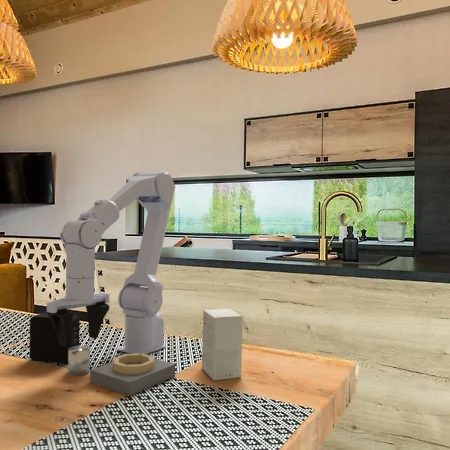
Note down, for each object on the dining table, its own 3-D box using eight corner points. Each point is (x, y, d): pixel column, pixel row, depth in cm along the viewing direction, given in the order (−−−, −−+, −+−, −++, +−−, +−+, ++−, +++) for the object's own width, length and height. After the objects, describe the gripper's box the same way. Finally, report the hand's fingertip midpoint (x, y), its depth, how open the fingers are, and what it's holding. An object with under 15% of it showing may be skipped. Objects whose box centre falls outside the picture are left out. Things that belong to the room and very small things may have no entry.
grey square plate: (136, 365, 102) (137, 347, 102) (175, 376, 96) (175, 357, 96) (89, 382, 92) (90, 362, 91) (129, 395, 85) (130, 374, 85)
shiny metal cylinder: (80, 367, 100) (80, 344, 100) (94, 371, 98) (94, 348, 98) (63, 372, 97) (63, 349, 97) (77, 377, 94) (77, 353, 94)
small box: (241, 378, 96) (243, 315, 96) (212, 381, 94) (214, 317, 94) (228, 365, 104) (229, 307, 103) (201, 368, 102) (202, 309, 101)
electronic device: (69, 364, 102) (70, 319, 102) (29, 360, 104) (29, 316, 104) (79, 358, 106) (79, 315, 106) (40, 354, 108) (40, 312, 108)
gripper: (94, 272, 105) (93, 331, 105) (37, 278, 93) (36, 345, 93) (116, 275, 101) (115, 336, 101) (60, 282, 89) (58, 352, 89)
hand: (79, 341), depth 97 cm, fingers open, 7 cm apart
